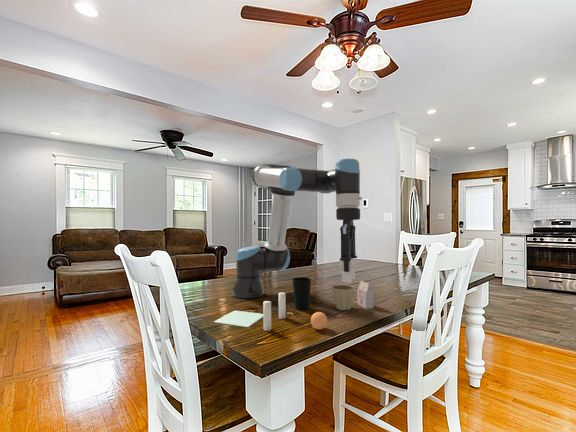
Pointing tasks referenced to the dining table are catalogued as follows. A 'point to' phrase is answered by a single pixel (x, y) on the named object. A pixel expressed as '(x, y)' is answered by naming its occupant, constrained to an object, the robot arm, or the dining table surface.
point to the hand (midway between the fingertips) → (348, 280)
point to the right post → (282, 305)
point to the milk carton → (365, 296)
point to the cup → (301, 292)
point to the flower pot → (343, 296)
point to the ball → (319, 320)
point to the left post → (267, 315)
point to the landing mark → (240, 318)
